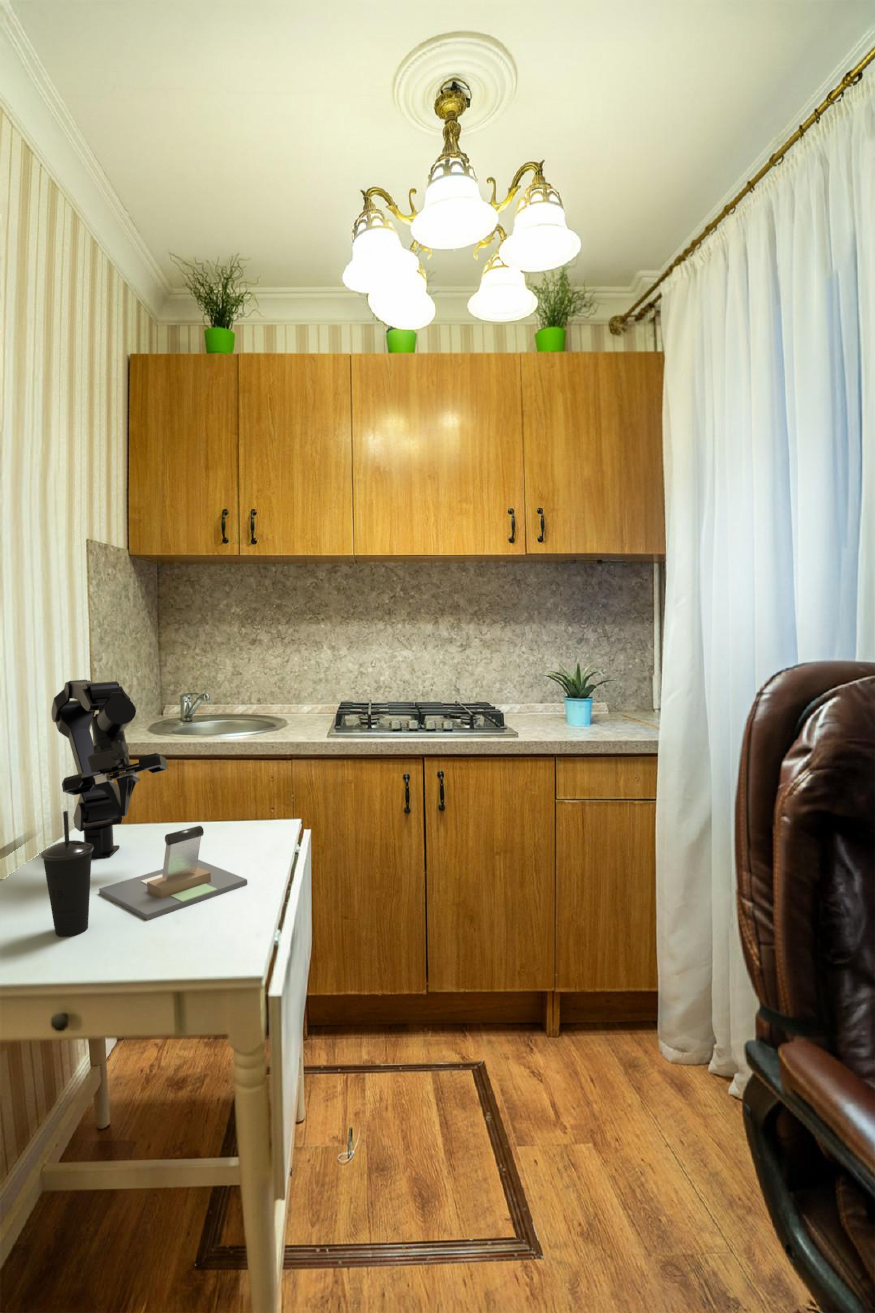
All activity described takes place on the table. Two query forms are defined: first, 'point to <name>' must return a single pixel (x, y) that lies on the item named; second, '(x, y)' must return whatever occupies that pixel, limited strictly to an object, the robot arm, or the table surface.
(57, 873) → the drinking cup
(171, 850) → the bench scraper
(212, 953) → the table surface
